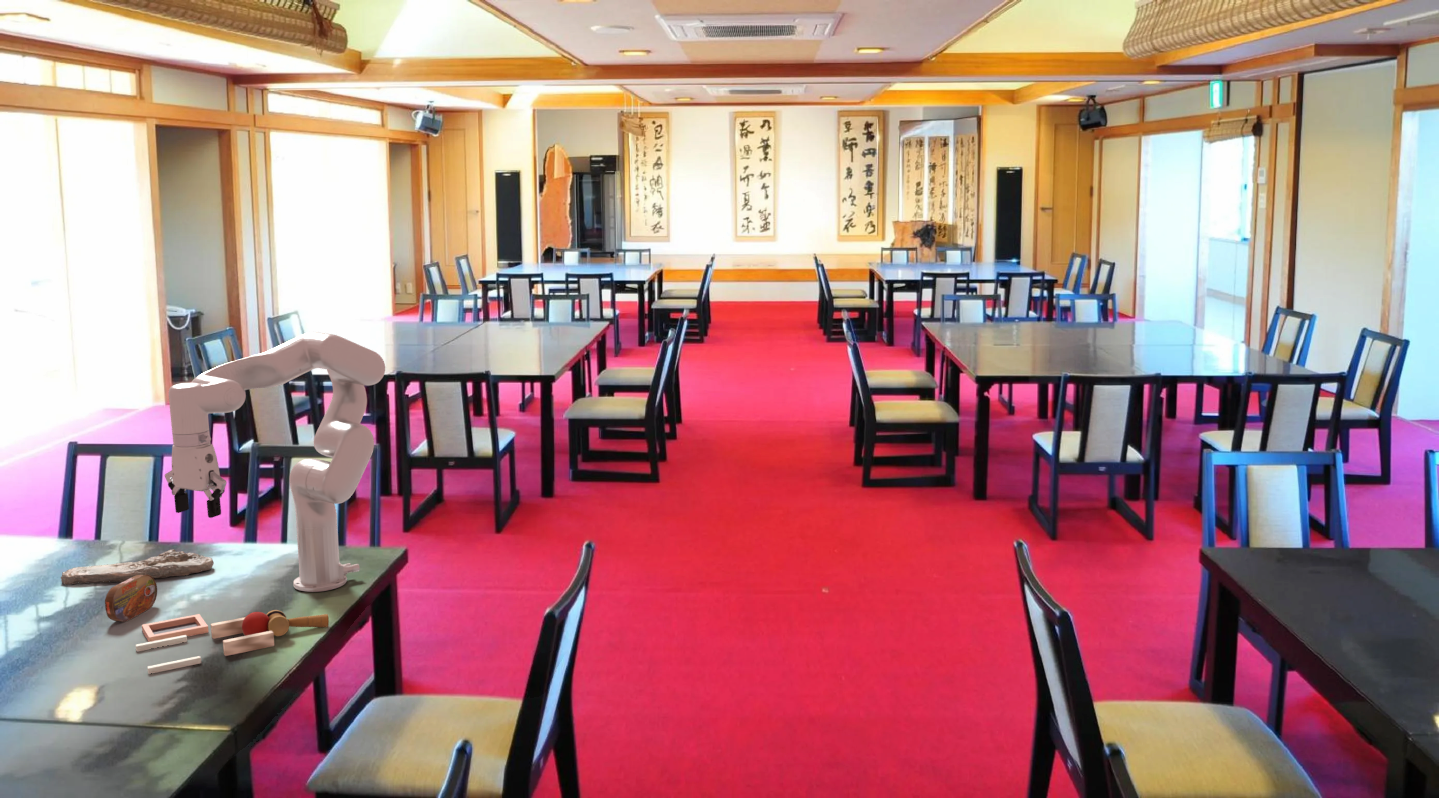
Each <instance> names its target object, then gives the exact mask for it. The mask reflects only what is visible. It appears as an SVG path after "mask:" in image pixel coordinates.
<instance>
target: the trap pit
mask: <svg viewBox="0 0 1439 798" xmlns="http://www.w3.org/2000/svg"><path fill="white" fill-rule="evenodd" d="M141 632H142V633H143V635H144V637H145V639H146V638H147V639H146V640H147V642H152V641H157V640H162V639H167V638H172V637H177V636H182V635H186V636H188V637H192V636H193V637H194V636H197V635H203V634H207V633H209V625H208V624H207V622H206V621H205V620H204V618H203V617H202V616H201V614H200V613H197V614H193V615H191V614H190V615H187V616H181V617H176V618H171V619H170V618H169V619H166V620H160V621H154V622H149V623H143V624H141Z"/></svg>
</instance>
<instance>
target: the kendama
mask: <svg viewBox="0 0 1439 798" xmlns="http://www.w3.org/2000/svg"><path fill="white" fill-rule="evenodd" d="M329 623H330V619H329V614H328V613H326V614H325V613H323V614H317V615H308V616H298V617H292V618H287V616H286V614H285V613H284V612H283V611H282V610H278V609H273V610H270V611H268V612H267V613H265V612H261V611H253V612H250V613H249V614H247V615H246V616H245V618H244V620H243V623H242V630H243V633H242V634H243V636H247V635H252V634H257V633H262V632H267V631H272V632H273V633H274V637H282V636H284V635H285V634H286V633H287V632H288V631H289V629H290V628H291V627H293V628H328V627H329Z"/></svg>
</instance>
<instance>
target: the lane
mask: <svg viewBox="0 0 1439 798" xmlns="http://www.w3.org/2000/svg"><path fill="white" fill-rule="evenodd" d="M245 617H246V616H245ZM245 617H239V618H234V619H229V620H228V619H227V620H223V621H219V622H213V623H210V632H211V634H210V635H211V638H212V640H215V639H220V638H223V637H229V636H230V637H231V636H235V635H238V634H240V635H241V634H243V630H242V623H243V620H244V618H245ZM274 637H275V636H274V633H273V632H272V631H267V632H262V633H257V634H252V635H247V636H245V635H242V636H238V637H234V638H233V637H232V638H228V639H224V640H222V648H223V655H224V656H225V657H228V656H231V655H239V654H242V653H246V652H251V651H256V650H261V649H265V648H271V647H275V638H274Z"/></svg>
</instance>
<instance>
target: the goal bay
mask: <svg viewBox="0 0 1439 798" xmlns="http://www.w3.org/2000/svg"><path fill="white" fill-rule="evenodd" d="M182 642H184V643H187V642H188V637H187V636H186V635H182V636H177V637H172V638H167V639H162V640H157V641H152V642H148V641H146V642H143V643H137V644H135V650H136V652H143V651H147V650H152V649H151V648H154V649H158V648H157V647H159V648H163V647H162V646H164V647H168V646H167V645H169V646H172V645H178V644H183V643H182ZM198 664H199V665H200V664H202V658H201V655H198V656H197V655H196V656H192V657H188V658H182V659H178V660H174V661H173V660H172V661H167V662H162V663H158V664H154V665H148V666H146V667H147V673H148V675H150V674H151V673H152V674H156V673H161V672H165V671H170V670H175V669H180V668H184V667H185V668H186V667H189V666H193V665H198Z"/></svg>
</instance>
